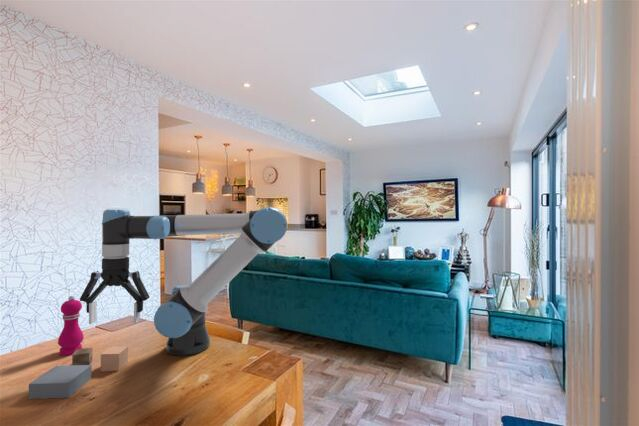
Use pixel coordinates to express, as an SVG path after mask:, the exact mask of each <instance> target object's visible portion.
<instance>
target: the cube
mask: <svg viewBox="0 0 639 426" xmlns="http://www.w3.org/2000/svg"><path fill="white" fill-rule="evenodd" d="M128 362H129V346H128V345H127V346H126V345H125V346H109V347H108V348H107V349H105V350H104V351H103V352H102V353H100V372H119V371H120V370H122V368H123V367H125V365H127V364H128Z"/></svg>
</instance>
